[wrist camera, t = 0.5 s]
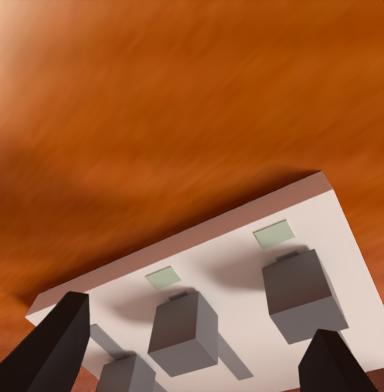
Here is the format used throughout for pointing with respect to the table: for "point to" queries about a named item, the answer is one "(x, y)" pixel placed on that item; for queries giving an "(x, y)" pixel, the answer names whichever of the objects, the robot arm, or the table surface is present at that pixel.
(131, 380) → the block
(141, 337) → the breaker panel
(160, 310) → the middle breaker
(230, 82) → the table surface
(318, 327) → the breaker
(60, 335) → the robot arm
